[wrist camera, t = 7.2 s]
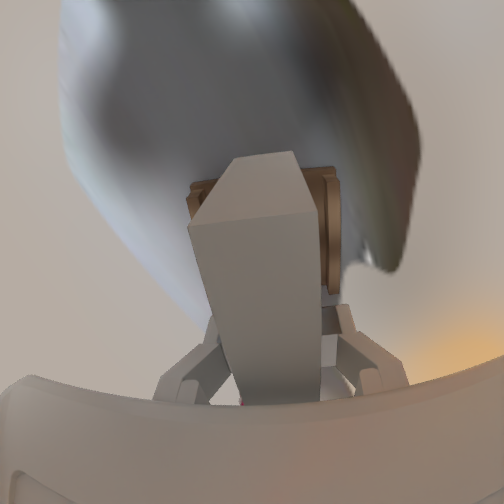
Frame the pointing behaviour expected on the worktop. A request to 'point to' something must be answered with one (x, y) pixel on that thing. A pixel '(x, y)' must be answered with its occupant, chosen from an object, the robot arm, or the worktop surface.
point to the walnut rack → (329, 217)
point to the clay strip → (264, 277)
